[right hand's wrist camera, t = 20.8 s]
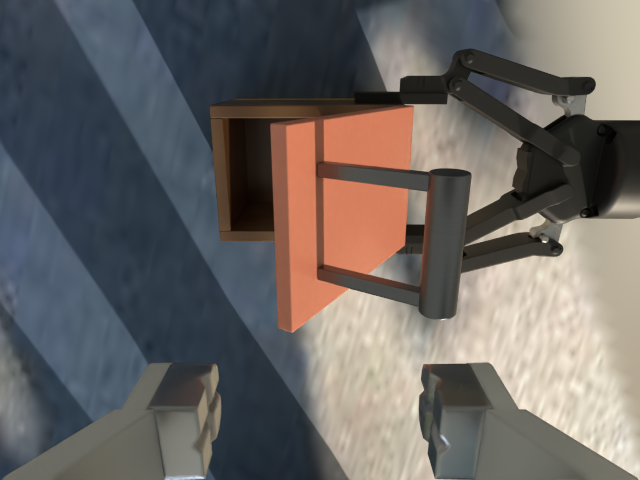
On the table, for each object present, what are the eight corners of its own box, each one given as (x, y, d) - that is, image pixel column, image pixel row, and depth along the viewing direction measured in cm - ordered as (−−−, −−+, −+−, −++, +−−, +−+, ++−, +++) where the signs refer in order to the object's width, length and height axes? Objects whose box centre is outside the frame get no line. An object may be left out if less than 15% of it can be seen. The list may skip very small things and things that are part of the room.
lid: (277, 328, 23) (432, 381, 19) (269, 123, 19) (456, 135, 15) (393, 243, 34) (505, 265, 30) (401, 105, 31) (528, 109, 27)
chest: (242, 208, 44) (220, 241, 35) (235, 98, 40) (208, 105, 31) (384, 208, 43) (398, 242, 35) (389, 98, 40) (406, 104, 31)
